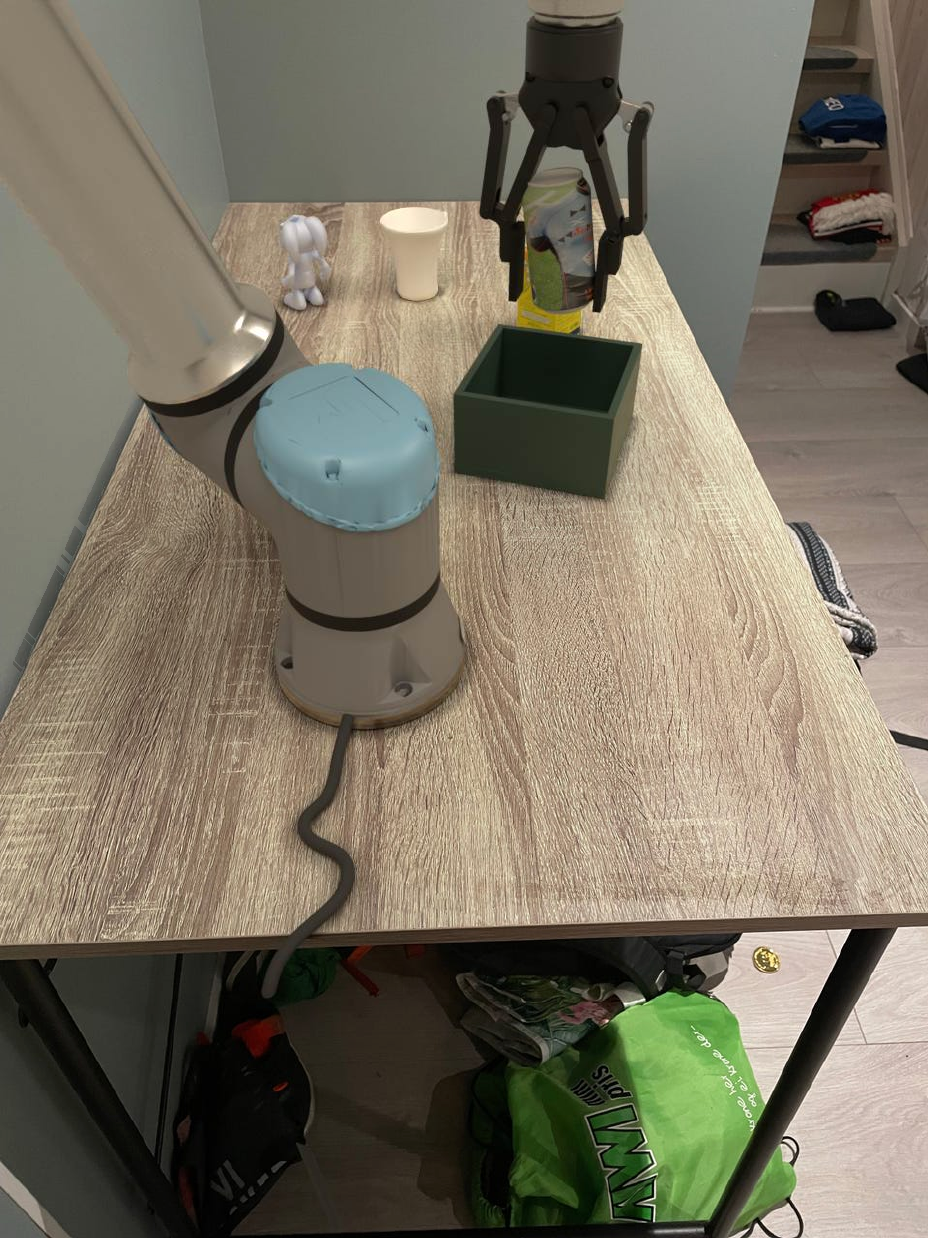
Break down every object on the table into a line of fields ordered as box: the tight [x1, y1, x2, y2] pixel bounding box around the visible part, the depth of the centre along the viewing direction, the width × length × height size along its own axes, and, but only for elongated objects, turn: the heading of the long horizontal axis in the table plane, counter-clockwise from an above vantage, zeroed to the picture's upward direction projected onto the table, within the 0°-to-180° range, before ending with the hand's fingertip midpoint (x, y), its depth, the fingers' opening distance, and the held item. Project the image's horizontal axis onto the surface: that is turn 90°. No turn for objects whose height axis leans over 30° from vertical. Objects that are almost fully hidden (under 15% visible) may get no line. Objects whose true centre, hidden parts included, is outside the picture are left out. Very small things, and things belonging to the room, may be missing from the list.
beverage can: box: [522, 166, 596, 314], centre depth 82 cm, size 6×7×12 cm
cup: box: [379, 206, 449, 302], centre depth 122 cm, size 9×9×10 cm
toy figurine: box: [278, 214, 332, 311], centre depth 118 cm, size 7×6×12 cm
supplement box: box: [516, 245, 582, 334], centre depth 112 cm, size 6×6×11 cm
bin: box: [452, 323, 643, 500], centre depth 94 cm, size 16×16×9 cm
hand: (557, 300), depth 86 cm, fingers closed on beverage can, 7 cm apart
